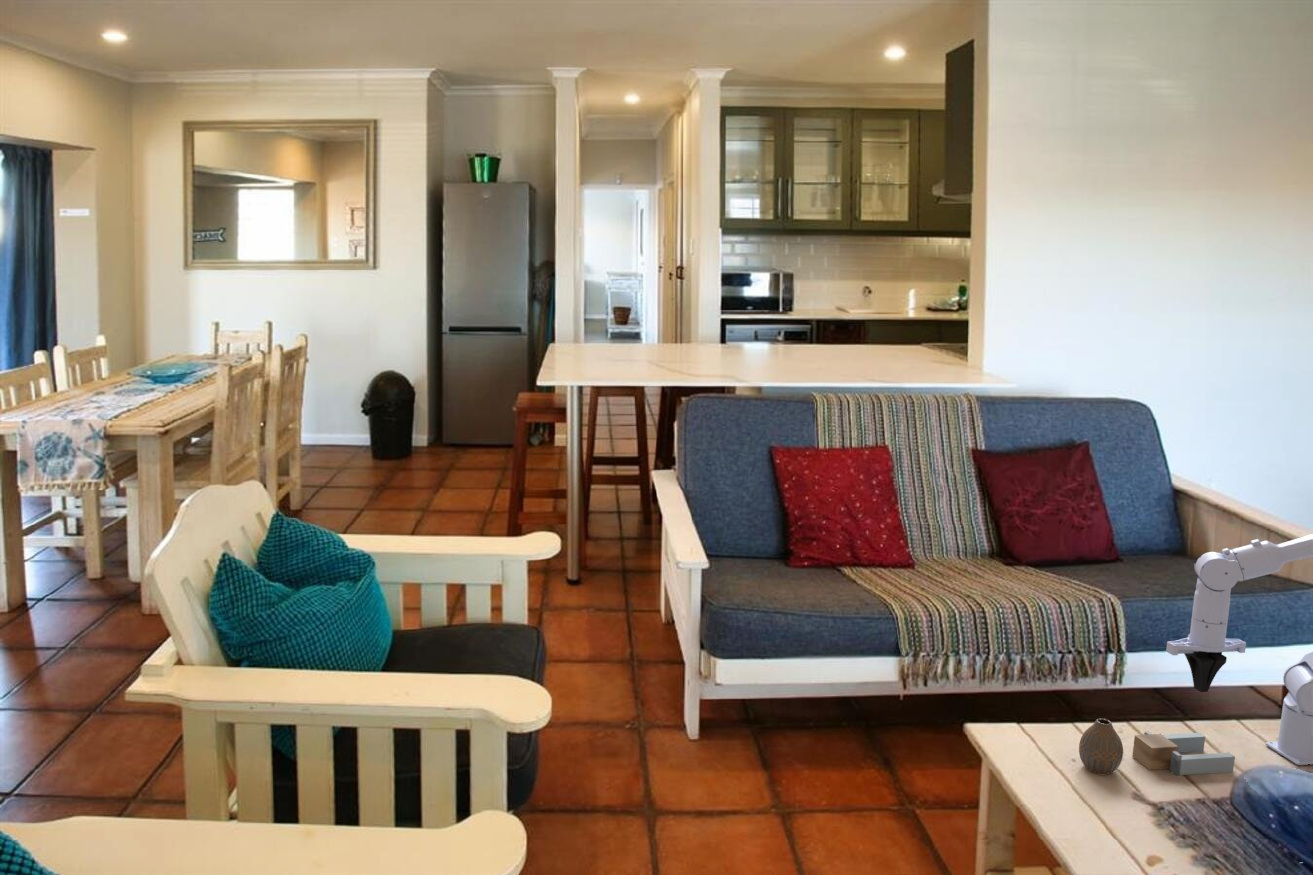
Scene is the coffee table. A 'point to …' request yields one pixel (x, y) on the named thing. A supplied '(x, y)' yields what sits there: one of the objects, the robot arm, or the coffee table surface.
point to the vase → (1101, 748)
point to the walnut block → (1153, 751)
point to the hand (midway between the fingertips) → (1200, 689)
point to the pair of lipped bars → (1196, 756)
